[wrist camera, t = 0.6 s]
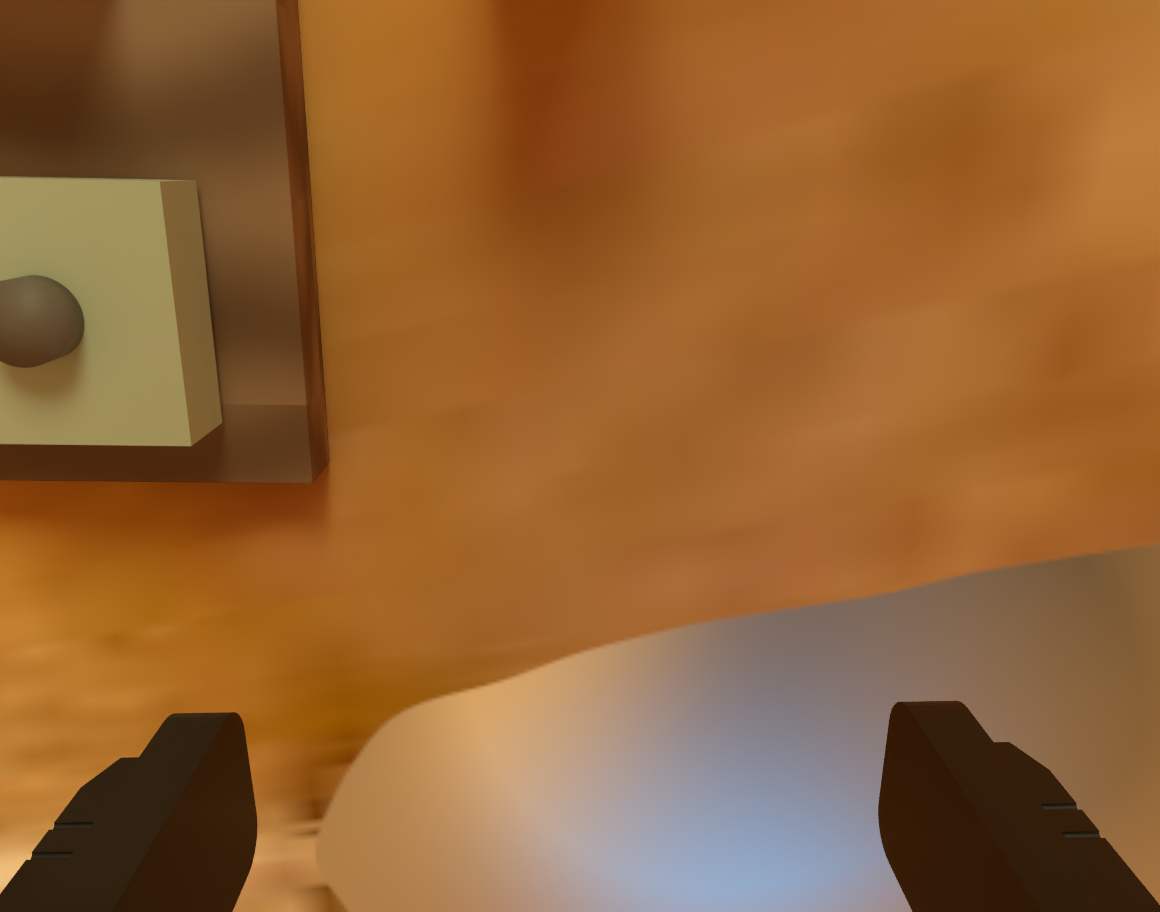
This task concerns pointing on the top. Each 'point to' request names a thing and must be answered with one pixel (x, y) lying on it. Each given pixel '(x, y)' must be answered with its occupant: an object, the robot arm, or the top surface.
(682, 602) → the top surface
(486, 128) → the top surface
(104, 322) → the lid
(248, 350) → the puzzle board
